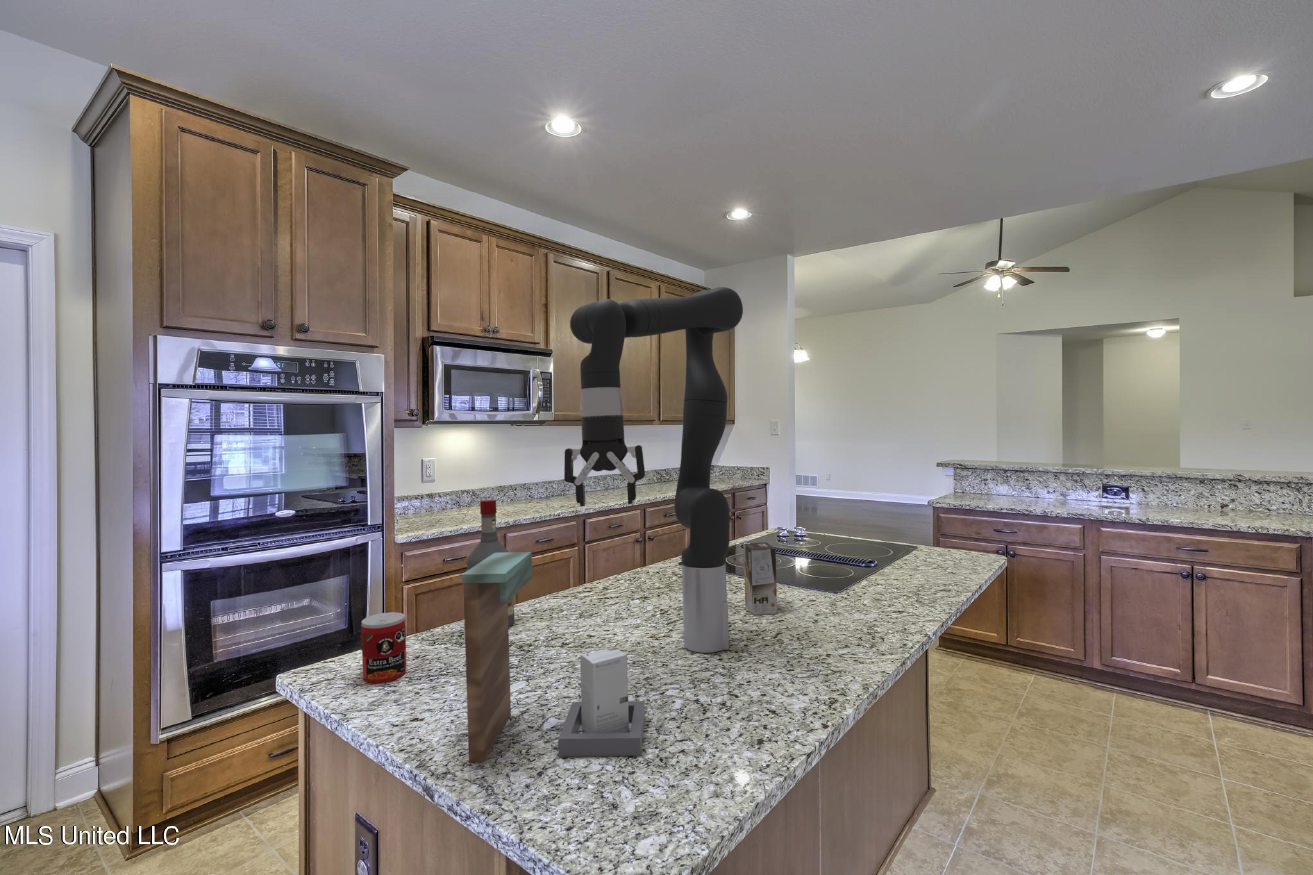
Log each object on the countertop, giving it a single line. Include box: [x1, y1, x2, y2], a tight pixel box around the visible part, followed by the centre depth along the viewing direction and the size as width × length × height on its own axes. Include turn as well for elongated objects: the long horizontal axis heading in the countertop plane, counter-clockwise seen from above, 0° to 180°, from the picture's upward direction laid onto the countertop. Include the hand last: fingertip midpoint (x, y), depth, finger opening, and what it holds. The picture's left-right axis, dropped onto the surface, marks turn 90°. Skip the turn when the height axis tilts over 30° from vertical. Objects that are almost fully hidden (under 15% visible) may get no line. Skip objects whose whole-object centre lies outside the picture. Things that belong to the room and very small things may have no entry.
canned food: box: [360, 611, 408, 684], centre depth 115 cm, size 8×8×11 cm
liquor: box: [466, 499, 516, 628], centre depth 142 cm, size 9×9×30 cm
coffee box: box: [742, 541, 778, 616], centre depth 150 cm, size 9×6×16 cm
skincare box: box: [579, 647, 630, 733], centre depth 89 cm, size 6×4×12 cm
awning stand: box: [461, 551, 533, 764], centre depth 90 cm, size 6×15×26 cm, turn 178°
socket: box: [557, 700, 646, 758], centre depth 89 cm, size 12×12×2 cm
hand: (606, 504), depth 107 cm, fingers open, 8 cm apart
